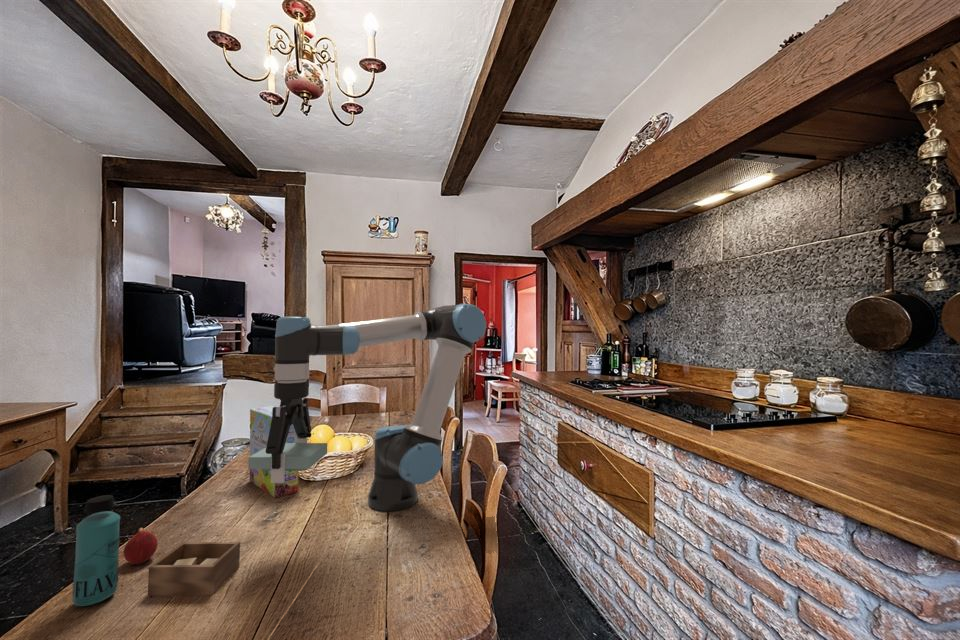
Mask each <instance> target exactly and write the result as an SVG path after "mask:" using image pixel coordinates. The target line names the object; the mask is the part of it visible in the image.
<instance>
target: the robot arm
mask: <svg viewBox="0 0 960 640" xmlns="http://www.w3.org/2000/svg"><path fill="white" fill-rule="evenodd" d="M275 325H276V327H275V335H274V337H275V338H274V342H275V345H274V347H275V348H274V351H275V352H274V358H275V359H274V367H273V371H274V380H275V381H277V382H275V383H274V385H273V387H274V388H273V397H274V398H275V399H277V400H280V403H279V406H275V407H273V410H272V421H271V426H270V431H269V436H268V441H267V446H266V453H267V454H271V483H284V482H285V452H283V450H284V447H285V443H286V440H287V436H288V433H289V429H290V426H291V425H292V424H293V426H294V429H295V432H296V434H297V437H299V438H296V439H295V443H308V438H311V437H312V427H311V426H312V425H311V418H310V411H309V398H308V396H309V395H310V394H309V393H310V392H309V391H310V388H309V387H310V382H309V381H308V379H310V356H315V357H316V356H347V355H355V354H357V352H358V350H359V349H360V348H361V347H368V346H375V345H380V344H388V343H395V342H400V341H407V340H413V339H417V340H418V341H419V342H420V341H422V342H423V341H428V340H429V341H430V340H432V341H436V343H437V350H436V353H435V356H434V358H433V361H432V364H431V366H430V370H429V373H428V375H427V379H426V381H425V383H424V387H423V389H422V393H421V395H420V398H419V401H418V403H417V407H416V409H415V412H414V414H413V417H412V420H411V422H410V423H409V424H403V425H402V424H401V425H397V424H396V425H390V426H383V427H379V428H378V429H376V431H375V434H374V435H375V436H374V439H373V441H374V465H373V466H374V467H373V468H374V469H373V470H374V473H373V474H374V476H373V477H374V478H373V479H372V482H371V486H370V489H369V491H368V495H367V505H368V506H369V508H372V509H374V510H376V511H382V512H395V511H402V510H406V509H407V508H411V507H412V506H414V505H415V504H416V503H417V502H418V490H417V485H423V484H427V483H428V482H430V481H432V480H433V479H435V478H436V477H437V475H438V474H439V472H440V471H441V469H442V466H443V461H444V457H443V456H444V455H443V454H442V453H443V452H442V449H441V444H442V442H443V437H442V435H441V432H440V431H441V428H442V425H443V422H444V419H445V416H446V413H447V410H448V407H449V404H450V402H451V398H452V396H453V393H454V389H455V386H456V383H457V381H458V377H459V374H460V371H461V369H462V365H463V362H464V359H465V357H466V356H467V355H468V354H470V353H472V350H473V347H474V345H475V343H476V342H478V341H479V340H482V338H483V337H484V335H485V333H486V330H487V321H486V317H485V316H484V313H483V311H482V310H481V309H480V308H479V307H478V306H476V305H474V304H472V303H459V304H453V305H452V304H450V305H442V306H439V307H434V308H431V309H426V310H422V311H421V310H420V311H415V312H414V313H413V314H411V315H404V316H396V317H389V318H388V317H387V318H379V319H371V320H363V321H362V320H361V321H353V322H345V323H344V322H343V323H337V324H329V325H314V324H312V323H311V319H310V318H309V317H308V316H307V317H306V316H281V317H279V318H277V321H276V324H275Z"/></svg>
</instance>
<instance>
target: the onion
mask: <svg viewBox="0 0 960 640" xmlns="http://www.w3.org/2000/svg"><path fill="white" fill-rule="evenodd" d="M158 544H159V543H158V539H157V537H156V535H155V534H153V532H150V531H147V530H145V529H144V528H143V527H140V528H139V529H138V531H137V533H136V534H134V535H133V536H132V537H130V539H129V540H128V541H127V542H126V544H125V545H124V548H123V556H124V559H125V560H126V561H127V562H128V563H130V564H132V565H141V564H143V563H146V562H147V561H148V560H149V559H150V558H151V557H152V556H154V554H155V553H156V551H157V547H158Z"/></svg>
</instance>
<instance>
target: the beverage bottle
mask: <svg viewBox="0 0 960 640" xmlns="http://www.w3.org/2000/svg"><path fill="white" fill-rule="evenodd" d="M114 507H115V501H114V496H113V495H111V494H106V495H99V496H96V497H92V498H89V499H87V500H86V502H85V508H84V514H91V515H88V516H86V517H84V518H83V519H82V520H81V521H80V522H79V523H77V524H76V526H75V527H76V528H75V529H76V538H75V540H76V541H75V558H74V559H75V560H74V566H73V567H72V568H73V569H74V570H73V580H72V588H71V589H72V591H71V594H72V603H73V605H75V606H76V607H85V606H91V605H94V604H97V603H100V602H103V601H104V600H107V599H108V598H110V597H111V596H113V595H114V594H115V592H116V590H117V588H118V583H119V578H120V577H119V576H120V574H119V573H120V571H119V566H120V565H119V563H120V559H119V552H120V545H121V544H120V543H121V539H120V525H121V524H120V523H121V522H120V521H121V515H120V514H118V513H116V512H114V511H112V510H111V509H112V508H114ZM108 510H110V511H108Z"/></svg>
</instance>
